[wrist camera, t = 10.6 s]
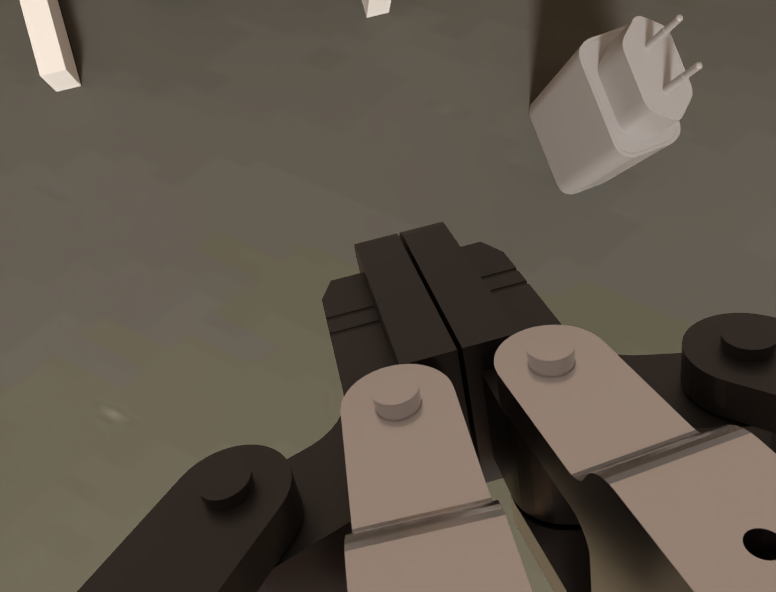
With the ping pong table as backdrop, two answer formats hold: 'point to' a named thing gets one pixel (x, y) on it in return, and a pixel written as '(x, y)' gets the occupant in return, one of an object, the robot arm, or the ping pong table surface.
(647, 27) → the power adapter
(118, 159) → the ping pong table surface
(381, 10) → the frame
